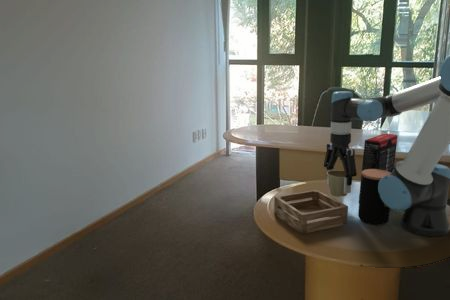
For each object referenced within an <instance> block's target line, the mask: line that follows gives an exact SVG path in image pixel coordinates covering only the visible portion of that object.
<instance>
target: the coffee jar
mask: <svg viewBox="0 0 450 300" xmlns="http://www.w3.org/2000/svg"><path fill="white" fill-rule="evenodd" d="M361 174H362V176H363V177H362V178H361V177H360V183H361V185H359V186H360V187H359V194H360V198H359V197H358V213H357V214H358V215H357V216H358V219H359V220H360V221H361V222H362V223H364V224H367V225H372V226H383V225H385V224H387V223H388V221H389V220H390V214H391V213H390V212H391V208H389V207H388V206H387V205H386V204H385V203H384V202H383V201H382V199H381V198H380V194H379V192H378V184H379V181H380V179H381V178H382V177H384V176H385V175H390V174H391V172H389V171H385V170H380V169H366V170H363V171H362V170H361Z"/></svg>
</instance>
